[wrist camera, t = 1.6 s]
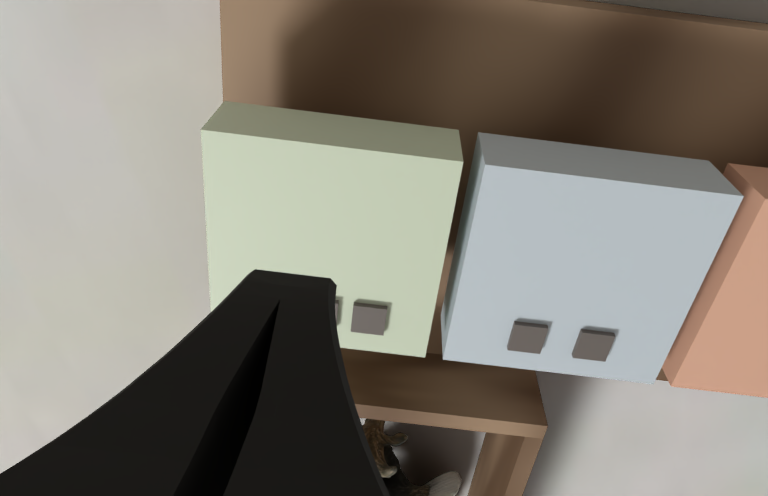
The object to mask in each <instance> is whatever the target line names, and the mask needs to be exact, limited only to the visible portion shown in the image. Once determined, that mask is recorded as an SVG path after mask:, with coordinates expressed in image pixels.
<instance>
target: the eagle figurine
mask: <svg viewBox="0 0 768 496" xmlns="http://www.w3.org/2000/svg"><path fill="white" fill-rule="evenodd" d="M384 423H385V421H384V420H375V419H366V420H365V424H364V425H362V428H363V430H364V433H365V436H366V439H367V441H368V444H369V447H370V450H371V452H372V455H373V457H374V459H375V462H376V464H377V467H378V469H379V472H380V474H381V477H382V479H383V481H384V483H385V486H386V488H387V490H388V492H389V495H390V496H455V495H456V494H457V492H458V491H459V486H460V485H461V483H462V480H461V478H460V475H459V473H457V472H454V471H451V472H447V473H444V474H442V475H440V476H438V477H436V478H434V479H433V480H431V481H429V482H428V483H426V484H425V485H423V486H416V485H414V484H411V483H410V482H409V480H408V479H407V478H406V476H405V475H404V473H403V472H402V471H401V469H400V465H399V462H398V459H397V457H396V456H395V454H394V452H393V448H392V447H391V446H390V445H392V446H397V445H400V444H402V443H404V442H405V441H406V440H407V435H405V434H403V433H397V434H395V435H394V436H388V435H385V434H384Z"/></svg>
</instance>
